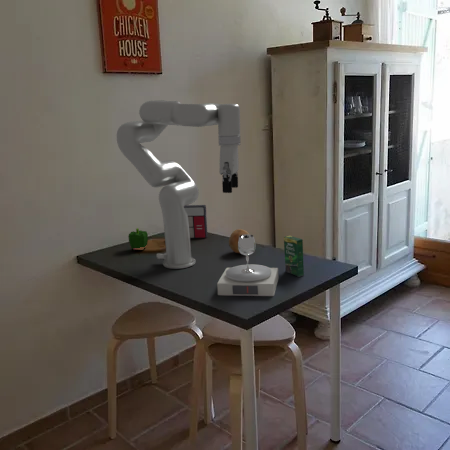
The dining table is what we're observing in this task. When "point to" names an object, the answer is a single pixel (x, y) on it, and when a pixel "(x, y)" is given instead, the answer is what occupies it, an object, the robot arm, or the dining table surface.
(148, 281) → the dining table surface
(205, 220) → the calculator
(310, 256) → the dining table surface
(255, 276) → the kitchen scale
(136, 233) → the bell pepper
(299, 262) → the coffee box
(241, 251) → the wineglass
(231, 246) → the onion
